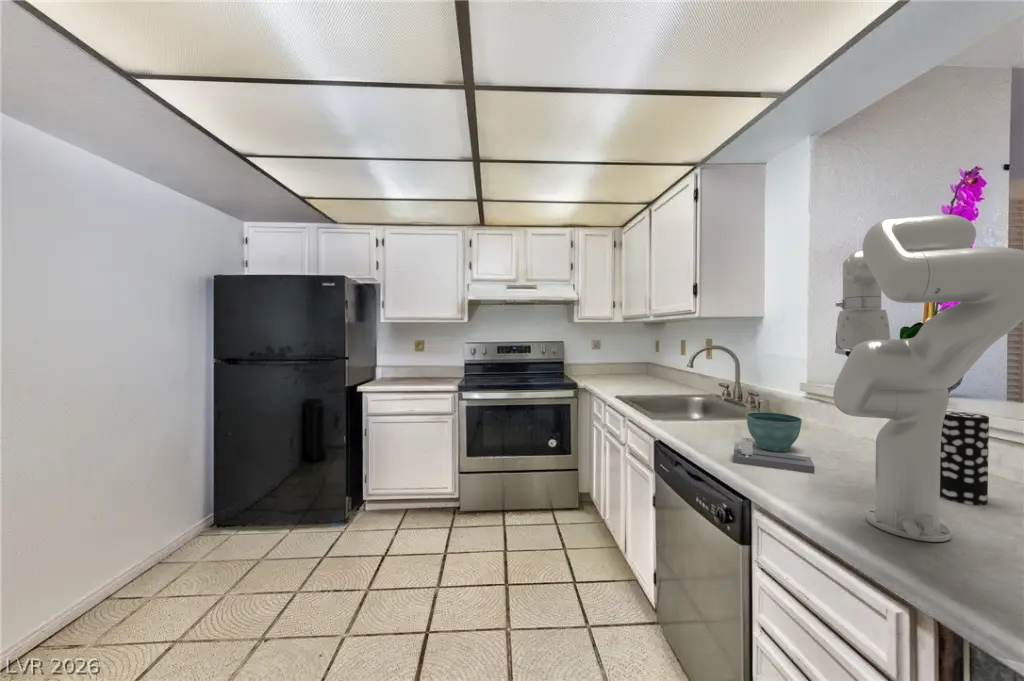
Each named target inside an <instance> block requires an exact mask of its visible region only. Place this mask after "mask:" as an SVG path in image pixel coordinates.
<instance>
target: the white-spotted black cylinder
mask: <svg viewBox="0 0 1024 681" xmlns="http://www.w3.org/2000/svg"><path fill="white" fill-rule="evenodd" d="M989 428H990V417H989V416H988V415H984V414H979V413H972V412H965V411H964V412H963V411H951V410H950V411H949V410H948V411H947V410H946V414H945V417H944V422H943V427H942V434H941V457H940V498H943V499H946V500H948V501H952V502H956V503H960V504H964V505H971V506H972V505H973V506H985V505H986V506H987V505H988V504H987V503H988V502H989V499H988V496H989V495H988V494H989V492H988V491H989V488H988V487H989V442H990V439H989V437H990V436H989V434H990V429H989Z"/></svg>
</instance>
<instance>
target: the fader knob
mask: <svg viewBox="0 0 1024 681" xmlns="http://www.w3.org/2000/svg"><path fill="white" fill-rule="evenodd" d="M740 440H741V441H740V442H741V443H740V444H741V446H740V447H741V448H740V449H741V454H745V455H753V450H754V447H753V444H754V443H753V440H754V439H753V437H752V438H751V437H750V438H748V437H741V439H740Z"/></svg>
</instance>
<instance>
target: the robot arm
mask: <svg viewBox="0 0 1024 681" xmlns="http://www.w3.org/2000/svg"><path fill="white" fill-rule="evenodd" d="M976 230H977V229H976V227H975V225H974V224H973V223H972V221H970V220H968V219H967V218H965V217H962V216H960V215H955V214H942V213H941V214H932V215H930V214H929V215H919V216H906V217H896V218H887V219H884V220H880V221H879V222H877V223H875V224H874V225H872V226H871V227H869V229H868V231H867V232H866V234H865V235H864V238H863V241H862V250H856V251H854V252H852V253H851V254H850V253H849V254H850V255H849V256H848V257H846V259H844V260H843V263H842V299H841V300H839V301H835V307H839V308H841V309H842V310H840V311H839V312H838V316H837V317H838V318H837V321H836V322H837V323H836V330H835V332H836V333H835V349H834V353H835V354H838V355H843V356H846V357H847V358H846V360H845V363H844V365H843V366H842V368H841V369H840V372H839V374H838V377H837V378H836V380H835V384H834V386H833V394H832V395H833V402H834V405H835V407H836V408H837V409H838V410H839V411H840V412H841V413H843V414H845V415H847V416H850V417H859V418H873V419H874V418H875V419H887V420H888V421H887V422H886V423H885V424H884V425H883V426H882V428H881V429H879V432H878V433H877V435H876V439H875V473H874V474H875V480H874V481H875V483H874V484H875V485H874V488H875V489H874V492H875V493H874V496H875V497H874V508H872V509H871V508H870V509H868V510H866V511H865V514H864V516H865V517H864V518H865V520H866V521H867V522H868V523H869V524H870V525H872V526H874V527H876V528H877V529H880V530H882V531H883V532H886V533H889V534H893V535H895V536H899V537H903V538H905V539H911V540H915V541H921V542H929V543H930V542H931V543H932V542H933V543H939V542H940V543H942V542H947V541H949V540H951V537H952V531H951V530H950V528H948V527H947V526H945V525H944V524H943V523H941V522H940V519H941V518H940V515H941V513H940V512H941V507H940V506H941V497H940V457H941V434H942V427H943V422H944V417H945V414H946V411H947V410H948V406H949V402H950V394H949V388H951V387H953V386H954V385H956V384H957V383H958V382H959V381H960V380H961V379H962V378H963V376H964V375H966V373H967V372H968V371H969V370H970V369H971V368H972V367H973V366H974V364H976V362H978V361H979V359H981V357H982V356H983V355H984V354H985V352H986V351H987V350H988V349H989V348H990V347H991V346H992V345H994V344H995V343H996V342H997V341H998V340H1000V339H1001V338H1003V337H1005V335H1007V334H1008V333H1009V332H1011V331H1012V330H1013V329H1014V328H1016V326H1018V325H1020V324H1021V322H1023V321H1024V250H1023V249H1017V248H1012V247H1003V246H1002V247H1001V246H987V247H986V246H985V247H983V246H981V247H972V246H973V244H974V242H975V240H976V238H977V231H976ZM882 293H883V294H884V295H885V297H887V299H889V300H891V301H894V302H896V303H903V304H918V303H919V304H923V303H924V304H925V303H928V304H929V303H957V304H954V305H953V306H950V307H949V308H946V309H944V310H941V311H940V312H938V313H936V314H935V315H933V316H932V317H930V318H929V319H928V320H927V321H926V322H924V324H923V325H922V326H921V327H920V328H919V330H918V332H917V333H916V335H914V336H913V337H910V338H899V339H897V338H896V339H894V338H892V339H891V331H890V322H889V316H888V312H887V310H886V309H882Z"/></svg>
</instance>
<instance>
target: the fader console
mask: <svg viewBox="0 0 1024 681" xmlns="http://www.w3.org/2000/svg"><path fill="white" fill-rule="evenodd" d="M734 462H738V463H737V464H740V463H742V464H741V465H747V464H749V465H748V466H755V465H756V466H755V467H762V466H764V468H770V467H772V468H771V469H777V468H779V470H784V469H786V470H785V471H792V470H793V471H794V472H800V473H809V474H815V465H814V462H813V460H812V458H811V456H804V455H796V454H789V453H787V454H786V453H782V452H779V453H778V452H773V451H771V452H770V451H762V450H755V449H753V455H745V454H741V448H739V442H734V447H733V463H734Z"/></svg>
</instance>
